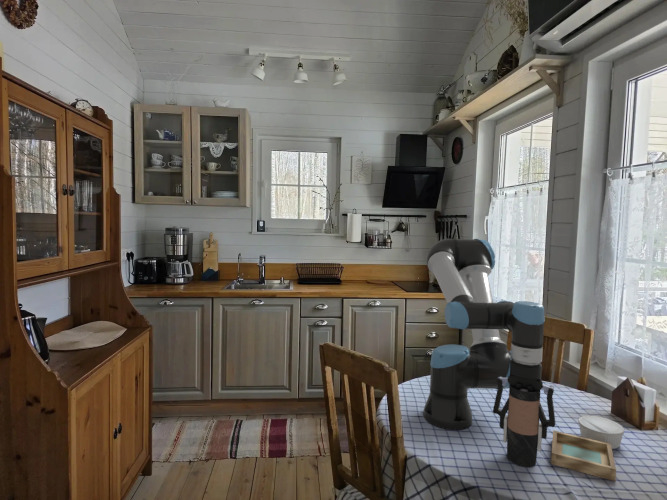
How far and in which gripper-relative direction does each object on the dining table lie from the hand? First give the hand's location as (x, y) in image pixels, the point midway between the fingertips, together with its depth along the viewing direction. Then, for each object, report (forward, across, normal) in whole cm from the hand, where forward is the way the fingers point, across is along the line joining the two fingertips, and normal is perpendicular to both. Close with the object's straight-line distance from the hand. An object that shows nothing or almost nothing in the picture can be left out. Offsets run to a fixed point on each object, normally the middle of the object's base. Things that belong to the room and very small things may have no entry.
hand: (521, 444), depth 109 cm
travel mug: (+4, 0, 0) cm, 4 cm away
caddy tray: (+4, +14, +9) cm, 17 cm away
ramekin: (+4, +19, +23) cm, 30 cm away
